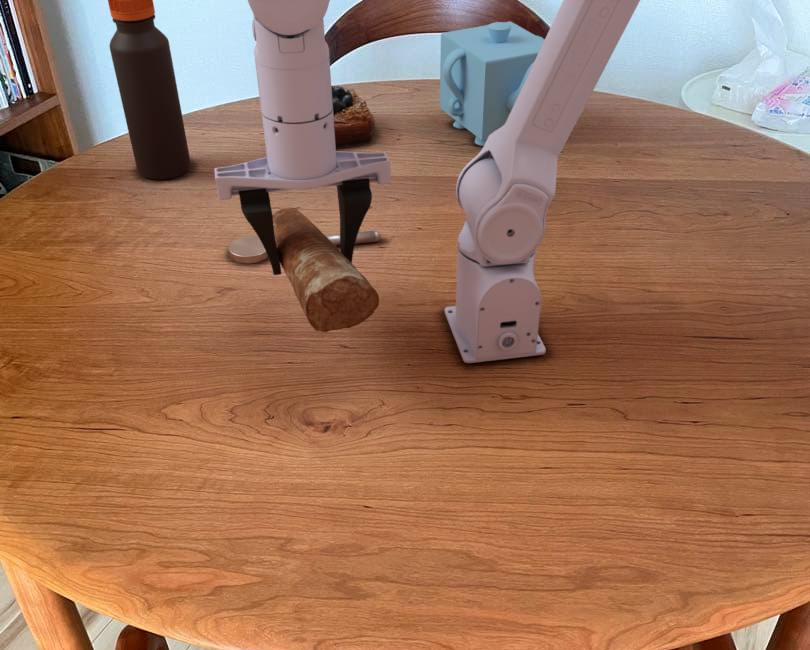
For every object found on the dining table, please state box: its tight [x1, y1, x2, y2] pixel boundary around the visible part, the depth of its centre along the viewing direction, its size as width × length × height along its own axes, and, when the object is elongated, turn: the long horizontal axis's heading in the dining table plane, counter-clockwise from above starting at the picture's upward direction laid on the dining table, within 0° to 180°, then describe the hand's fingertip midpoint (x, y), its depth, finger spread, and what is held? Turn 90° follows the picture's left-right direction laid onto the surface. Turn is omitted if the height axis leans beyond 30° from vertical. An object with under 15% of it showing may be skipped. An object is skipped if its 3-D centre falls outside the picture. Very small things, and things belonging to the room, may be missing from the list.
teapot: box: [439, 21, 545, 147], centre depth 117 cm, size 18×16×13 cm
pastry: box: [331, 85, 375, 149], centre depth 121 cm, size 11×12×6 cm
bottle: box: [107, 0, 191, 181], centre depth 109 cm, size 7×7×20 cm
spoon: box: [228, 230, 381, 265], centre depth 101 cm, size 5×17×1 cm, turn 100°
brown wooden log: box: [272, 207, 380, 333], centre depth 81 cm, size 6×19×6 cm, turn 19°
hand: (312, 265), depth 82 cm, fingers closed on brown wooden log, 6 cm apart
